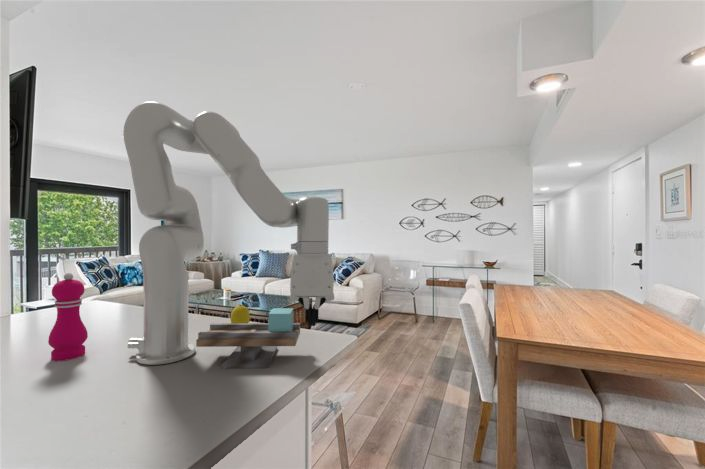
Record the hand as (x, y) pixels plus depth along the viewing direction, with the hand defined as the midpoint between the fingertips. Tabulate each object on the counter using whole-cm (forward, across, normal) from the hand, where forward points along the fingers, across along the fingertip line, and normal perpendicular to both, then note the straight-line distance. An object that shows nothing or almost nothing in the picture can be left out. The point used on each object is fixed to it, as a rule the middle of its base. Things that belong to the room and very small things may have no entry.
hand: (312, 324), depth 81 cm
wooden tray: (+8, -14, 0) cm, 17 cm away
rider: (+2, -7, 0) cm, 8 cm away
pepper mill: (+8, -58, +2) cm, 59 cm away
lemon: (+8, -23, +22) cm, 33 cm away
